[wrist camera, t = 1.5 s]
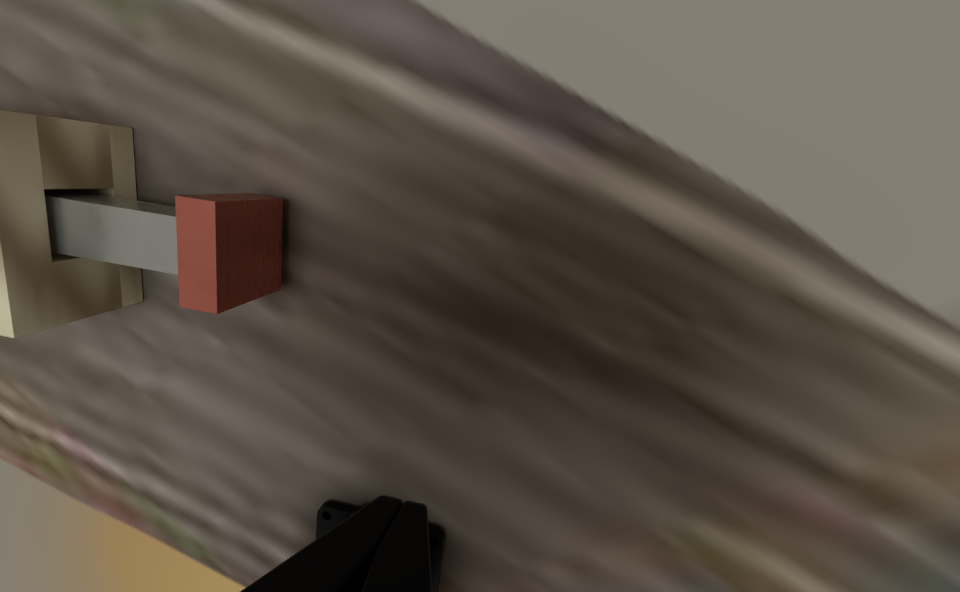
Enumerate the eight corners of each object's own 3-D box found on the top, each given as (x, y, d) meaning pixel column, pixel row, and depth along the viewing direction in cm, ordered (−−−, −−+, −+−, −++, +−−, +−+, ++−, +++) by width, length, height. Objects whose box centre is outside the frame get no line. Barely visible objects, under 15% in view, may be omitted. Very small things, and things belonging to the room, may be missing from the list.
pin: (281, 289, 20) (217, 314, 16) (38, 246, 22) (-73, 259, 18) (282, 198, 19) (215, 201, 15) (27, 159, 21) (-93, 154, 17)
